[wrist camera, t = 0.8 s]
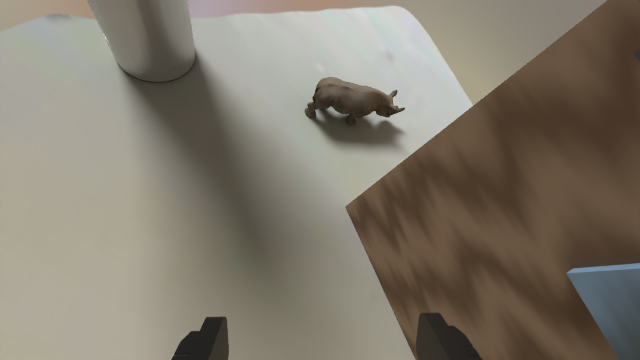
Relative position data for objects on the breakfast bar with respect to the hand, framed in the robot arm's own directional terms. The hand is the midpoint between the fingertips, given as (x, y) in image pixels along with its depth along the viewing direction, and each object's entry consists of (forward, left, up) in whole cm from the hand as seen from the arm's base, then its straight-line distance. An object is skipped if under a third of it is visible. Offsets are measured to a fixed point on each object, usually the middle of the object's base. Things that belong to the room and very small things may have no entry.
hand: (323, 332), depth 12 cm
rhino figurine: (-19, +20, -21) cm, 35 cm away
